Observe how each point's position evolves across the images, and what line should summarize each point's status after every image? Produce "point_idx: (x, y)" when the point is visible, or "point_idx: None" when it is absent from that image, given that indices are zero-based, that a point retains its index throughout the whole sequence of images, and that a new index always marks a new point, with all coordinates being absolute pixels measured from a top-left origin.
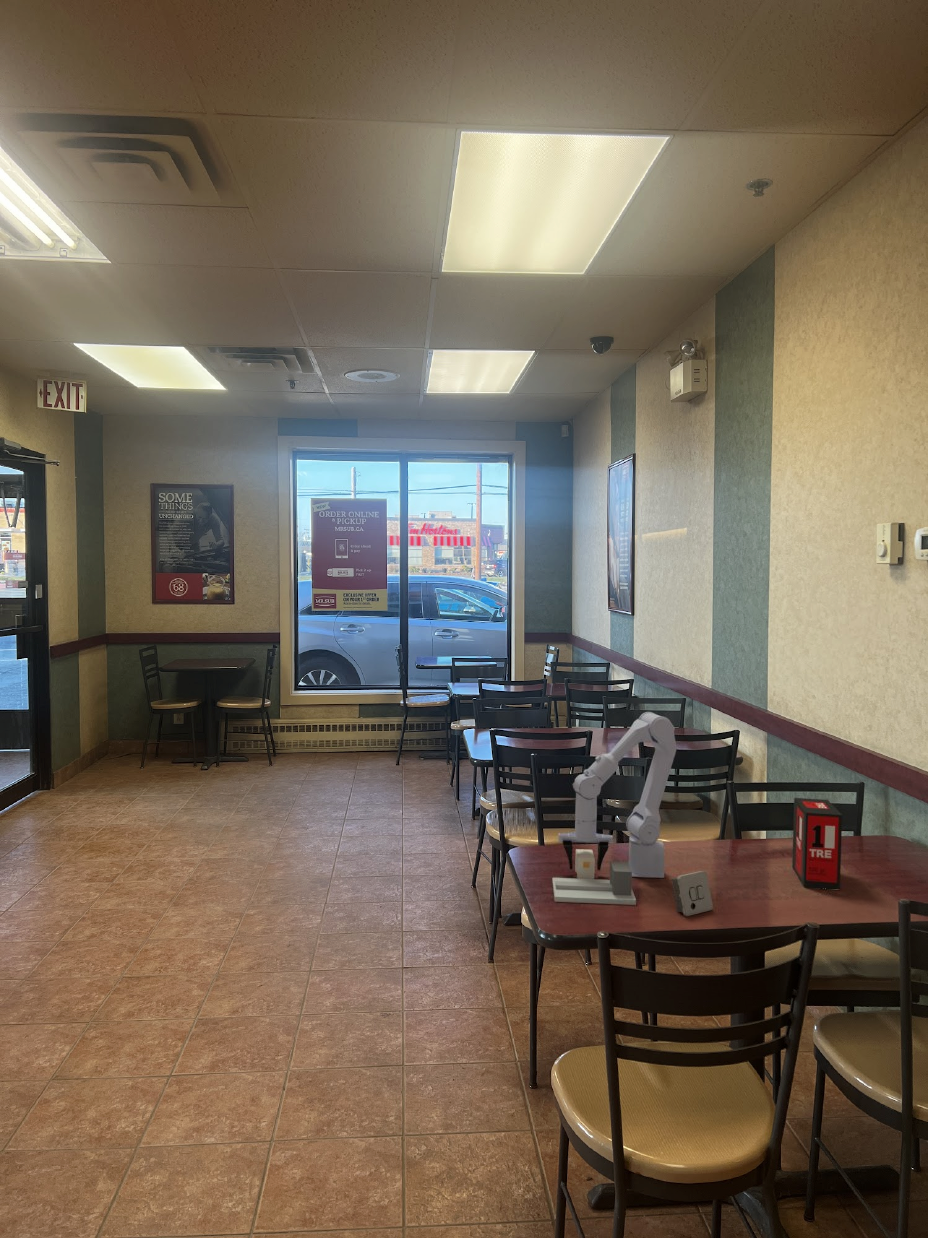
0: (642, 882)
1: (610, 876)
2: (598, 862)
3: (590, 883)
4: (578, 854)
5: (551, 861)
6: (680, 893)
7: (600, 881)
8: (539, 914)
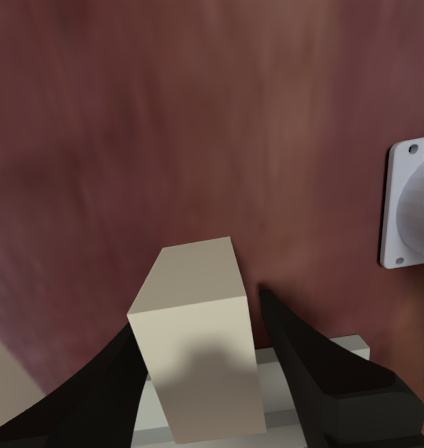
0: (414, 298)
1: None
2: (276, 355)
3: (240, 439)
4: (167, 399)
5: (22, 151)
6: None
7: (269, 378)
8: None
